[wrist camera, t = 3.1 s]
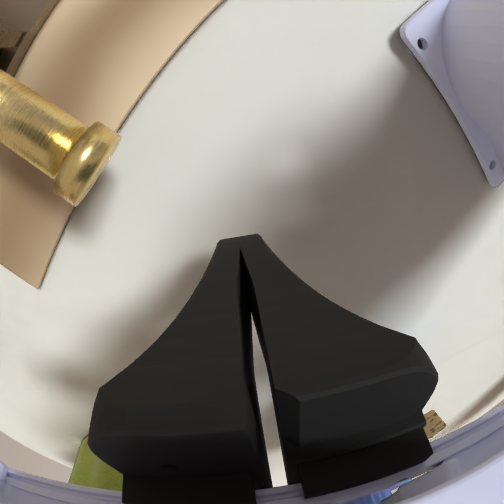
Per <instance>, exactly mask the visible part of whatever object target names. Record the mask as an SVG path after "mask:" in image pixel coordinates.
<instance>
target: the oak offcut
mask: <svg viewBox="0 0 504 504" xmlns="http://www.w3.org/2000/svg"><path fill="white" fill-rule="evenodd" d="M223 1H224V0H60V1H59V2H58V4H57V5H56V7H55V8H54V10H53V11H52V13H51V14H50V15H49V17H48V19H47V20H46V22H45V23H44V25H43V26H42V28H41V30H40V31H39V33H38V34H37V36H36V38H35V39H34V41H33V43H32V45H31V46H30V48H29V50H28V52H27V54H26V55H25V57H24V59H23V61H22V63H21V65H20V67H19V69H18V71H17V73H16V75H15V77H14V78H15V79H17V80H18V81H20V82H21V83H23V84H24V85H26V86H27V87H29V88H31V89H32V90H34V91H35V92H37V93H38V94H40V95H41V96H43V97H44V98H46V99H47V100H49V101H50V102H52V103H53V104H55V105H56V106H58V107H59V108H61V109H62V110H64V111H65V112H67V113H68V114H70V115H71V116H73V117H74V118H76V119H77V120H79V121H80V122H82V123H83V124H85V125H86V126H88V127H90V126H91V125H93V124H94V123H95V122H98V121H99V122H101V123H102V124H104V125H105V126H107V127H108V128H110V129H111V130H113V131H114V132H116V133H117V131H118V130H119V128H120V126H121V125H122V123H123V122H124V120H125V119H126V117H127V116H128V114H129V113H130V112H131V110H132V109H133V107H134V106H135V104H136V103H137V101H138V100H139V99H140V97H141V96H142V95H143V93H144V92H145V90H146V89H147V88H148V86H149V85H150V84H151V82H152V81H153V80H154V78H155V77H156V76H157V75H158V73H159V72H160V71H161V69H162V68H163V67H164V66H165V64H166V63H167V62H168V61H169V60H170V58H171V57H172V56H173V55H174V54H175V52H176V51H177V50H178V49H179V48H180V46H181V45H182V44H183V43H184V42H185V41H186V40H187V38H188V37H189V36H190V35H191V34H192V33H193V32H194V31H195V30H196V28H197V27H198V26H199V25H200V24H201V23H202V22H203V21H204V20H205V19H206V18H207V17H208V16H209V15H210V14H211V13H212V12H213V11H214V10H215V9H216V8H217V7H218V6H219V5H220V4H221V3H222V2H223ZM54 181H55V180H54V179H52V178H51V177H49V176H48V175H46V174H45V173H43V172H42V171H41V170H39V169H38V168H36V167H35V166H33V165H32V164H31V163H29V162H28V161H26V160H25V159H23V158H22V157H21V156H19V155H18V154H16V153H15V152H14V151H12V150H11V149H9V148H8V147H7V146H5V145H4V144H3V143H1V142H0V264H1V265H3V266H4V267H5V268H7V269H8V270H10V271H11V272H13V273H14V274H16V275H17V276H18V277H20V278H21V279H23V280H24V281H26V282H27V283H29V284H30V285H32V286H34V287H35V288H37V289H38V288H39V286H40V284H41V283H42V280H43V277H44V275H45V272H46V270H47V267H48V265H49V262H50V260H51V257H52V255H53V252H54V250H55V248H56V245H57V243H58V241H59V238H60V236H61V234H62V232H63V230H64V227H65V225H66V223H67V221H68V219H69V217H70V215H71V213H72V211H73V209H74V207H75V206H73V205H72V204H70V203H69V202H67V201H66V200H64V199H63V198H61V197H60V196H58V195H57V194H55V193H54V192H53V185H54Z"/></svg>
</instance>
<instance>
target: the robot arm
mask: <svg viewBox="0 0 504 504" xmlns="http://www.w3.org/2000/svg"><path fill="white" fill-rule="evenodd" d="M400 36H401V38H402V40H403V42H404V43H405V44H406V45H407V47H408V48H409V49H410V50H411V52H412V53H413V54H414V56H415V57H416V58H417V60H418V61H419V62H420V64H421V65H422V66H423V68H424V69H425V71H426V72H427V73H428V75H429V76H430V78H431V79H432V81H433V82H434V84H435V85H436V87H437V88H438V90H439V91H440V93H441V94H442V96H443V97H444V99H445V100H446V102H447V104H448V105H449V107H450V109H451V110H452V112H453V114H454V115H455V117H456V119H457V120H458V122H459V124H460V126H461V128H462V129H463V131H464V133H465V135H466V137H467V139H468V140H469V142H470V144H471V146H472V148H473V150H474V152H475V154H476V156H477V158H478V160H479V162H480V164H481V167H482V169H483V171H484V173H485V175H486V178H487V180H488V182H489V184H490V185H492V186H493V187H498V186H499V185H500V184H501V183H502V182H503V181H504V0H429V1H428V2H427V3H426V4H424V5H423V6H422V7H421V8H420V9H419V10H418V11H417V12H415V13H414V14H413V15H412V16H411V17H410V18H409V19H408V20H407V21H406V22H404V23H403V24H402V26H401V27H400ZM418 39H420V40H421V42H422V49H420V48H419V47H418V43H417V41H418ZM251 313H252V316H253V320H254V324H255V327H256V331H257V334H258V338H259V342H260V345H261V349H262V352H263V356H264V359H265V363H266V367H267V371H268V376H269V381H270V387H271V393H272V399H273V404H274V410H275V416H276V421H277V427H278V433H279V438H280V444H281V450H282V455H283V461H284V466H285V472H286V478H287V483H288V485H286V486H280V487H273V486H272V480H271V475H270V469H269V463H268V457H267V452H266V446H265V440H264V434H263V428H262V421H261V415H260V409H259V403H258V396H257V390H256V383H255V376H254V365H253V343H252V322H251ZM437 382H438V373H437V371H436V369H435V367H434V365H433V364H432V362H431V360H430V358H429V357H428V355H427V354H426V352H425V351H424V349H423V348H422V347H421V345H420V344H419V343H418V341H417V340H416V338H414V337H412V336H409V335H406V334H403V333H400V332H397V331H394V330H391V329H388V328H385V327H382V326H380V325H377V324H375V323H373V322H371V321H368V320H366V319H364V318H361V317H359V316H357V315H355V314H353V313H351V312H349V311H348V310H346V309H344V308H342V307H340V306H339V305H337V304H335V303H333V302H331V301H330V300H328V299H327V298H325V297H324V296H322V295H321V294H319V293H318V292H317V291H315V290H314V289H312V288H311V287H310V286H308V285H307V284H306V283H305V282H303V281H302V280H301V279H300V278H299V277H298V276H296V275H295V274H294V273H293V272H292V271H291V270H290V269H289V268H288V267H287V266H286V265H285V264H284V263H283V262H282V261H281V260H280V259H279V258H278V257H277V256H276V255H275V254H274V253H273V252H272V251H271V249H270V248H269V247H268V246H267V244H266V243H265V242H264V240H263V239H262V237H261V236H260V235H258V234H253V235H247V236H241V237H235V238H229V239H223V240H220V241H219V242H218V243H217V246H216V249H215V252H214V254H213V257H212V259H211V261H210V263H209V265H208V267H207V269H206V271H205V273H204V275H203V277H202V279H201V281H200V283H199V284H198V286H197V288H196V289H195V291H194V293H193V294H192V296H191V297H190V299H189V301H188V302H187V303H186V305H185V306H184V308H183V309H182V311H181V312H180V313H179V315H178V316H177V317H176V319H175V320H174V321H173V322H172V323H171V325H170V326H169V327H168V328H167V329H166V330H165V332H164V333H163V334H162V335H161V336H160V337H159V338H158V339H157V340H156V341H155V342H154V343H153V344H152V345H151V346H150V347H149V348H148V349H147V350H146V351H145V352H144V353H143V354H142V355H141V356H140V357H138V358H137V359H136V360H135V361H134V362H133V363H132V364H130V365H129V366H128V367H127V368H126V369H124V370H123V371H122V372H120V373H119V374H118V375H116V376H115V377H114V378H113V379H111V380H110V381H109V382H107V383H106V384H105V385H103V386H102V387H100V388H99V390H98V394H97V397H96V400H95V403H94V407H93V412H92V417H91V423H90V429H89V435H88V441H87V444H88V446H89V448H90V450H91V451H92V452H93V453H94V454H95V455H96V456H97V457H98V458H99V459H101V460H102V461H104V462H105V463H106V464H108V465H109V466H111V467H112V468H114V469H115V470H117V471H118V472H120V473H121V474H123V485H122V491H115V490H106V489H99V488H92V487H86V486H80V485H75V484H70V483H65V482H60V481H55V480H51V479H47V478H43V477H39V476H35V475H32V474H28V473H25V472H21V471H18V470H15V469H12V468H8V467H7V466H6V465H5V464H4V463H2V462H1V461H0V504H336V503H340V502H343V501H347V500H351V499H354V498H358V497H361V496H364V495H367V494H370V493H373V492H376V491H379V490H382V489H385V488H388V487H391V486H393V485H396V484H399V483H401V482H404V481H406V480H409V479H411V478H414V477H416V476H418V475H421V474H423V473H425V472H427V473H425V474H423V475H421V476H419V477H417V478H415V479H413V480H411V481H409V482H407V483H405V484H403V485H401V486H399V488H398V490H397V491H396V492H395V493H393V494H392V495H390V496H388V497H387V498H385V499H383V500H381V502H380V504H504V404H502V405H501V406H499V407H497V408H496V409H494V410H492V411H491V412H489V413H487V414H486V415H484V416H482V417H480V418H478V419H477V420H475V421H473V422H471V423H469V424H467V425H465V426H464V427H462V428H460V429H458V430H456V431H454V432H452V433H450V434H447V435H445V436H443V437H441V438H439V439H437V440H435V441H432V442H429V440H428V438H427V435H426V433H425V430H424V428H423V427H425V426H426V425H427V423H426V419H425V417H424V415H423V412H422V409H423V408H424V406H425V405H426V403H427V402H428V400H429V398H430V397H431V395H432V394H433V392H434V390H435V387H436V385H437ZM430 470H431V471H430ZM428 471H429V472H428Z"/></svg>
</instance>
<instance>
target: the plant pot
mask: <svg viewBox="0 0 504 504" xmlns="http://www.w3.org/2000/svg"><path fill="white" fill-rule="evenodd" d="M87 441H88V436H87V437H86V438H85V439H84V440H83V441H82V443H81V446H80V449H79V452H78V455H77V458H76V461H75V464H74V467H73V470H72V473H71V476H70V479H69V482H68V483H70V484H75V485H80V486H86V487H92V488H99V489H106V490H115V491H122V485H123V474H121V473H120V472H118V471H117V470H115V469H114V468H112V467H111V466H109V465H108V464H106V463H105V462H104V461H102V460H101V459H99V458H98V457H97V456H96V455H95V454H94V453H93V452H92V451H91V450H90V448H89V446H88V444H87Z"/></svg>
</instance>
